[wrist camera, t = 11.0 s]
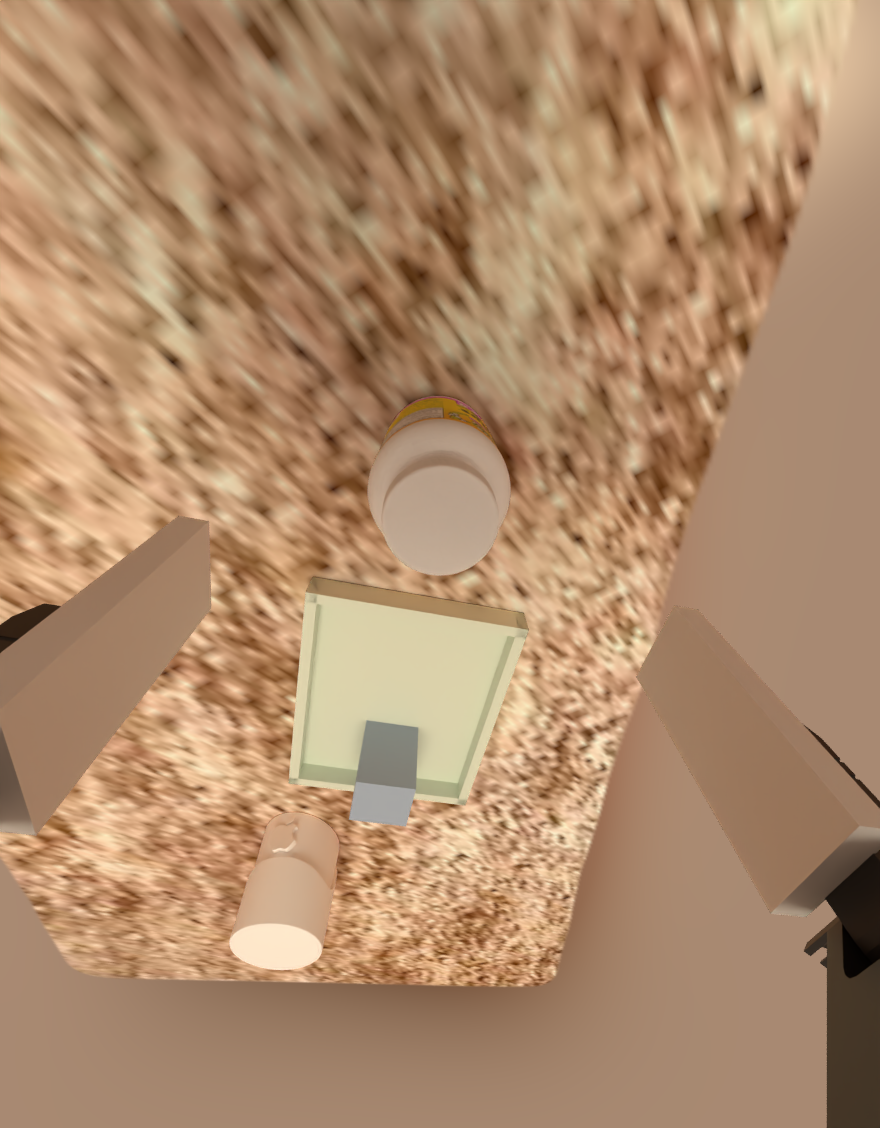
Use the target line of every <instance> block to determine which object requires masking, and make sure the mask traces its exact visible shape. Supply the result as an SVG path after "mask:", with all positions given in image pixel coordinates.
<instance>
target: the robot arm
mask: <svg viewBox="0 0 880 1128" xmlns="http://www.w3.org/2000/svg"><path fill="white" fill-rule="evenodd" d="M210 609H211V580H210V538H209V521H204V520H199V519H193V518H188V517H182V516H178V517H176V518H175V519H174V520H173V521H171V522H170V523H169V524H167V525H166V526H165V527H164V528H162V529H161V530H160V531H158V532H157V533H156V534H154V535H153V536H152V537H151V538H149V539H148V540H147V541H145V542H144V543H143V544H141V545H140V546H139V547H138V548H136V549H135V550H134V551H132V552H131V553H130V554H128V555H127V556H126V557H125V558H123V559H122V560H121V561H119V562H118V563H117V564H115V565H114V566H113V567H112V568H110V569H109V570H108V571H106V572H105V573H104V574H102V575H101V576H100V577H99V578H97V579H96V580H95V581H93V582H92V583H91V584H89V585H88V586H87V587H86V588H84V589H83V590H82V591H80V592H79V593H78V594H76V595H75V596H74V597H73V598H71V599H70V600H69V601H67V602H66V603H65V604H63V605H62V606H57V605H50V604H42V605H39V606H37V607H35V608H32V609H30V610H27V611H25V612H22V613H20V614H17V615H15V616H12V617H11V618H9V619H8V620H7V621H5V622H4V623H2V624H1V625H0V832H8V833H17V834H27V835H37V834H38V832H39V831H40V830H41V828H42V827H43V826H44V825H45V823H46V822H47V821H48V819H49V818H50V817H51V815H52V814H53V813H54V812H55V810H56V809H57V808H58V806H59V805H60V804H61V803H62V801H63V800H64V799H65V797H66V796H67V795H68V793H69V792H70V791H71V790H72V788H73V787H74V786H75V784H76V783H77V782H78V780H79V779H80V778H81V777H82V775H83V774H84V773H85V771H86V770H87V769H88V767H89V766H90V765H91V764H92V762H93V761H94V760H95V758H96V757H97V756H98V754H99V753H100V752H101V751H102V749H103V748H104V747H105V745H106V744H107V743H108V742H109V740H110V739H111V738H112V736H113V735H114V734H115V732H116V731H117V730H118V729H119V727H120V726H121V725H122V723H123V722H124V721H125V719H126V718H127V717H128V716H129V714H130V713H131V712H132V710H133V709H134V708H135V706H136V705H137V704H138V703H139V701H140V700H141V699H142V697H143V696H144V695H145V693H146V692H147V691H148V690H149V688H150V687H151V686H152V684H153V683H154V682H155V681H156V679H157V678H158V677H159V675H160V674H161V673H162V671H163V670H164V669H165V668H166V666H167V665H168V664H169V662H170V661H171V660H172V658H173V657H174V656H175V655H176V653H177V652H178V651H179V649H180V648H181V647H182V645H183V644H184V643H185V642H186V640H187V639H188V638H189V636H190V635H191V634H192V633H193V631H194V630H195V629H196V627H197V626H198V625H199V623H200V622H201V621H202V620H203V618H204V617H205V616H206V614H207V613H208V612H209V610H210ZM636 677H637V679H638V681H639V682H640V684H641V686H642V688H643V689H644V691H645V693H646V695H647V696H648V698H649V700H650V702H651V704H652V705H653V707H654V709H655V711H656V712H657V714H658V716H659V717H660V719H661V721H662V723H663V725H664V727H665V728H666V730H667V732H668V733H669V735H670V737H671V739H672V741H673V742H674V744H675V746H676V747H677V749H678V751H679V753H680V755H681V756H682V758H683V760H684V762H685V763H686V765H687V767H688V769H689V770H690V772H691V774H692V776H693V778H694V779H695V781H696V783H697V785H698V786H699V788H700V790H701V792H702V794H703V795H704V797H705V799H706V801H707V802H708V804H709V806H710V808H711V809H712V811H713V813H714V815H715V816H716V818H717V820H718V822H719V823H720V825H721V827H722V829H723V830H724V832H725V834H726V836H727V838H728V839H729V841H730V843H731V845H732V846H733V848H734V850H735V852H736V853H737V855H738V857H739V859H740V861H741V862H742V864H743V866H744V867H745V869H746V871H747V873H748V874H749V876H750V878H751V880H752V882H753V883H754V885H755V887H756V889H757V890H758V892H759V894H760V896H761V897H762V899H763V901H764V903H765V905H766V906H767V908H768V910H769V911H770V913H772V914H781V915H791V916H800V917H807V916H808V915H809V914H810V913H811V912H812V911H814V910H815V908H817V907H818V906H819V905H820V904H821V903H822V902H823V901H824V900H827V902H828V903H829V905H830V906H831V907H832V909H833V910H834V912H835V913H836V915H837V917H836V918H835V919H834V920H833V921H832V922H830V923H829V924H828V925H827V926H826V927H825V928H824V929H822V930H821V931H820V932H819V933H818V934H817V935H815V936H814V937H813V938H812V939H811V940H810V941H809V942H807V944H806V947H805V950H804V952H806V953H807V954H808V955H810V956H811V955H812V954H813V953H815V952H816V951H817V950H818V949H820V948H821V947H824V948H827V957H826V958H824V959H823V960H822V961H821V962H820V963H821V964H822V965H823V966H825V967H826V968H827V1128H880V801H879V800H878V799H877V798H876V797H875V796H874V795H873V794H872V793H871V792H870V791H869V789H868V788H867V787H866V786H865V785H864V784H863V783H862V782H861V781H860V780H858V779H856V778H855V774H854V773H853V772H852V771H851V770H850V769H849V768H848V767H847V766H846V765H845V763H842V762H840V758H839V757H838V756H837V755H836V754H835V753H834V752H833V750H832V749H831V748H830V747H829V746H828V745H827V744H826V743H825V742H824V741H823V740H822V739H821V738H820V737H819V736H818V735H816V734H815V733H814V732H812V731H811V730H810V729H808V728H807V727H806V726H805V725H803V724H802V723H801V722H800V721H799V720H798V719H797V717H796V716H795V715H794V714H793V713H792V712H791V711H790V710H789V709H788V708H787V706H786V705H784V703H783V702H782V701H781V700H780V699H779V698H778V697H777V696H776V694H775V693H774V692H773V691H772V690H771V689H770V688H769V687H768V686H767V685H766V683H765V682H764V681H763V680H762V679H761V678H760V677H759V676H758V675H757V674H756V672H754V670H753V669H752V668H751V667H750V666H749V665H748V664H747V663H746V661H744V659H743V658H742V657H741V656H740V655H739V654H738V653H737V652H736V651H735V649H733V647H732V646H731V645H730V644H729V643H728V642H727V641H726V640H725V638H723V636H722V635H721V634H720V633H719V632H718V631H717V630H716V629H715V628H714V626H713V625H712V624H711V623H710V622H709V621H708V620H707V619H706V618H705V617H704V615H702V613H701V612H700V611H699V610H698V609H692V608H687V607H681V606H675V605H674V606H673V608H672V610H671V612H670V614H669V616H668V618H667V619H666V621H665V623H664V625H663V627H662V629H661V631H660V633H659V635H658V637H657V638H656V640H655V642H654V644H653V646H652V648H651V650H650V652H649V654H648V655H647V657H646V659H645V661H644V663H643V665H642V667H641V669H640V671H639V672H638V674H637V676H636Z"/></svg>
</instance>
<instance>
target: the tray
mask: <svg viewBox="0 0 880 1128" xmlns="http://www.w3.org/2000/svg"><path fill="white" fill-rule="evenodd" d="M528 631H529V629H528V625H527V622H526V619H525V616H524V613H520V612H515V611H509V610H503V609H497V608H491V607H486V606H480V605H474V604H468V603H462V602H457V601H451V600H445V599H439V598H433V597H428V596H422V595H416V594H410V593H404V592H399V591H393V590H387V589H381V588H375V587H370V586H364V585H358V584H352V583H346V582H341V581H335V580H329V579H323V578H317V577H313V578H312V580H311V582H310V584H309V586H308V588H307V591H306V594H305V605H304V616H303V627H302V639H301V650H300V661H299V672H298V683H297V694H296V705H295V717H294V728H293V739H292V750H291V761H290V772H289V784H297V785H305V786H313V787H321V788H329V789H337V790H345V791H353V792H354V788H355V782H356V776H357V770H358V764H359V758H360V753H361V747H362V742H363V736H364V731H365V726H366V720H369V721H376V722H383V723H390V724H397V725H404V726H412V727H418V749H417V777H416V791H415V795H414V799H418V800H426V801H434V802H442V803H450V804H458V805H466V802H467V799H468V796H469V793H470V791H471V788H472V785H473V782H474V780H475V777H476V774H477V771H478V769H479V766H480V763H481V760H482V758H483V755H484V752H485V749H486V747H487V744H488V741H489V738H490V736H491V733H492V730H493V727H494V725H495V722H496V719H497V716H498V714H499V711H500V708H501V705H502V703H503V700H504V697H505V694H506V692H507V689H508V686H509V683H510V681H511V678H512V675H513V672H514V670H515V667H516V664H517V661H518V659H519V656H520V653H521V650H522V648H523V645H524V642H525V639H526V637H527V634H528Z"/></svg>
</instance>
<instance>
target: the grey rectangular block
mask: <svg viewBox="0 0 880 1128" xmlns="http://www.w3.org/2000/svg"><path fill="white" fill-rule="evenodd" d="M417 749H418V727H412V726H404V725H397V724H390V723H383V722H376V721H369V720H366V726H365V731H364V736H363V742H362V747H361V753H360V758H359V764H358V770H357V776H356V782H355V788H354V794H353V800H352V805H351V811H350V817H349V820H356V821H365V822H373V823H382V824H390V825H399V826H406V824H407V820H408V816H409V813H410V809H411V806H412V802H413V799H414V795H415V791H416V777H417Z"/></svg>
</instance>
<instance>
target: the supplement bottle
mask: <svg viewBox="0 0 880 1128" xmlns="http://www.w3.org/2000/svg"><path fill="white" fill-rule="evenodd" d="M510 496H511V486H510V478H509V473H508V470H507V467H506V464H505V462H504V459H503V457H502V455H501V453H500V452H499V450H498V448H497V446H496V444H495V442H494V440H493V438H492V436H491V434H490V432H489V431H488V429H487V427H486V425H485V423H484V422H483V420H482V419H481V417H480V416H479V415H478V414H477V413H476V412H475V411H474V410H473V409H472V408H471V407H470V406H468V405H467V404H465V403H463V402H462V401H459V400H457V399H454V398H451V397H446V396H430V397H425V398H421V399H418V400H416V401H414V402H412V403H411V404H409V405H407V406H406V407H405V408H404V409H403V410H401V411H400V412H399V413H398V415H397V416H396V417H395V418H394V420H393V422H392V423H391V425H390V427H389V429H388V431H387V433H386V436H385V438H384V440H383V442H382V445H381V447H380V449H379V452H378V453H377V456H376V458H375V460H374V462H373V465H372V468H371V471H370V475H369V479H368V502H369V507H370V510H371V513H372V516H373V519H374V521H375V523H376V525H377V526H378V528H379V530H380V531H381V532H382V534H383V535H384V538H385V540H386V543H387V545H388V547H389V548H390V550H391V551H392V553H393V554H394V555H395V556H396V557H397V558H398V559H399V560H400V561H401V562H402V563H404V564H405V565H406V566H408V567H410V568H411V569H413V570H416V571H418V572H421V573H425V574H429V575H451V574H456V573H459V572H462V571H464V570H466V569H468V568H470V567H472V566H473V565H475V564H476V563H478V562H479V561H480V560H481V559H482V558H483V557H484V556H485V555H486V554H487V553H488V552H489V550H490V549H491V547H492V546H493V544H494V541H495V539H496V537H497V534H498V530H499V528H500V527H501V525H502V523H503V521H504V519H505V517H506V514H507V511H508V508H509V503H510Z"/></svg>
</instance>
